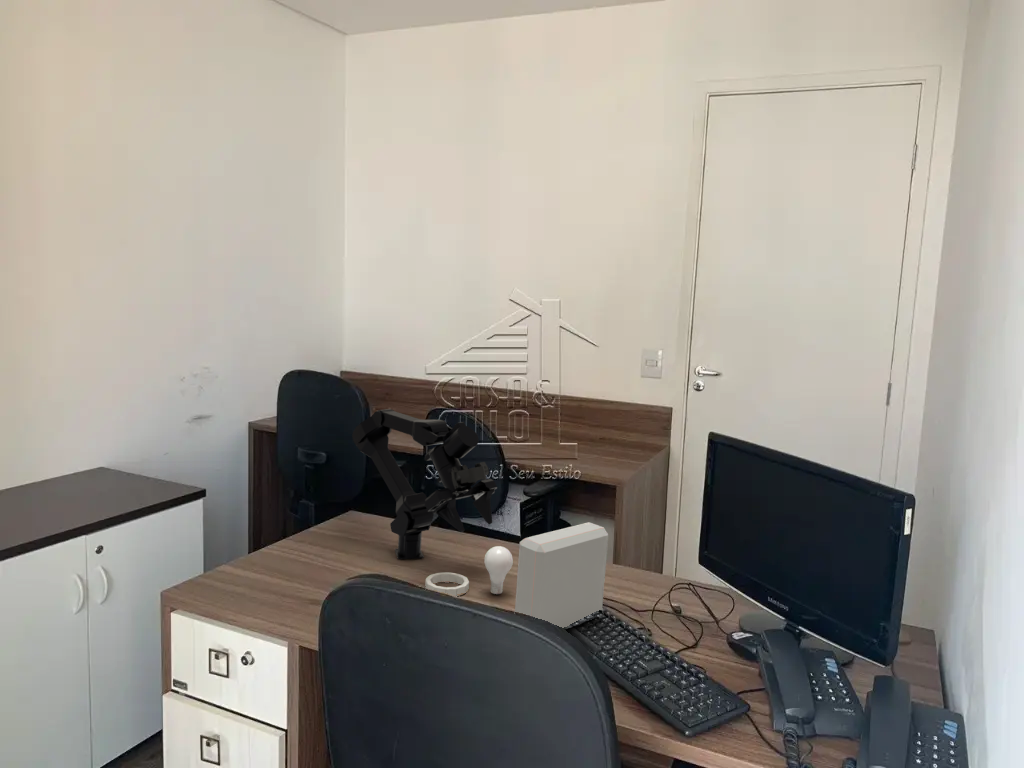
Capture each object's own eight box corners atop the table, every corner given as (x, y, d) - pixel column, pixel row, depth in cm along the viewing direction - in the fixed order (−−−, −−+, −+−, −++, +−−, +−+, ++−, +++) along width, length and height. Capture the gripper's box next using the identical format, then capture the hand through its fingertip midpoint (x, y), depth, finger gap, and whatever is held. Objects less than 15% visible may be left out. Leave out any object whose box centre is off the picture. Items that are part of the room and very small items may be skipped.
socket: (422, 581, 173) (423, 573, 173) (463, 579, 176) (463, 571, 175) (429, 598, 164) (429, 590, 164) (471, 596, 167) (472, 588, 166)
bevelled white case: (576, 606, 165) (583, 518, 163) (604, 619, 160) (612, 528, 157) (505, 631, 151) (512, 535, 148) (534, 647, 145) (541, 547, 143)
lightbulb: (507, 601, 165) (510, 553, 164) (479, 597, 166) (482, 549, 165) (512, 590, 171) (516, 544, 170) (485, 586, 173) (488, 540, 171)
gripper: (438, 456, 166) (468, 519, 161) (496, 446, 180) (525, 504, 175) (412, 480, 173) (439, 541, 167) (469, 468, 186) (496, 525, 181)
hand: (476, 527), depth 173 cm, fingers open, 9 cm apart
